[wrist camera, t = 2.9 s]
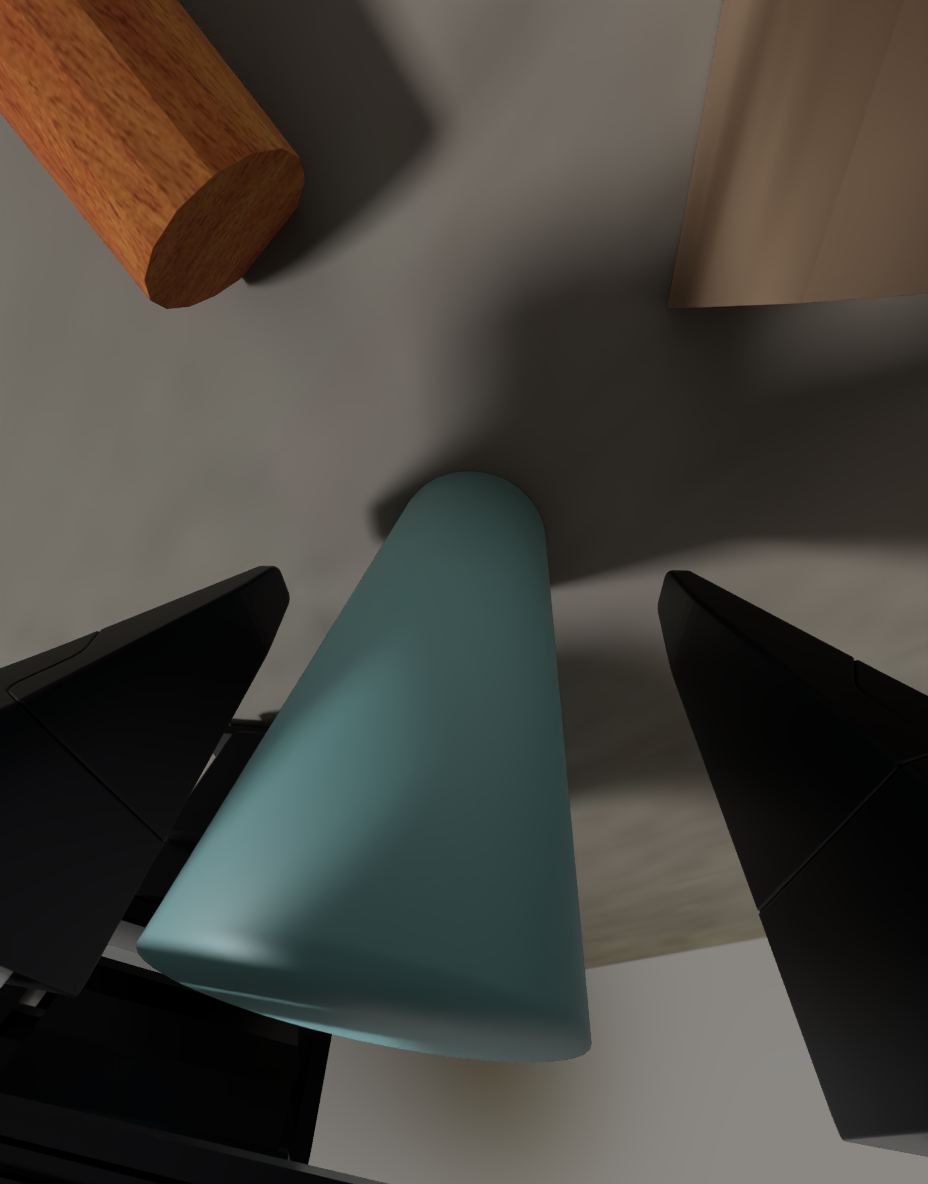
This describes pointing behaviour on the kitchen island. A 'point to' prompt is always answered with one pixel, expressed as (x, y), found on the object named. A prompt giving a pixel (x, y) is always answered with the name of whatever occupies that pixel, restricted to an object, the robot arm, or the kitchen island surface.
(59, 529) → the kitchen island surface
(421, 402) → the kitchen island surface
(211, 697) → the robot arm
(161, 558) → the kitchen island surface
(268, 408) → the kitchen island surface
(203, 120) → the wooden maraca
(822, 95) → the hole block
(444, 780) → the pin
